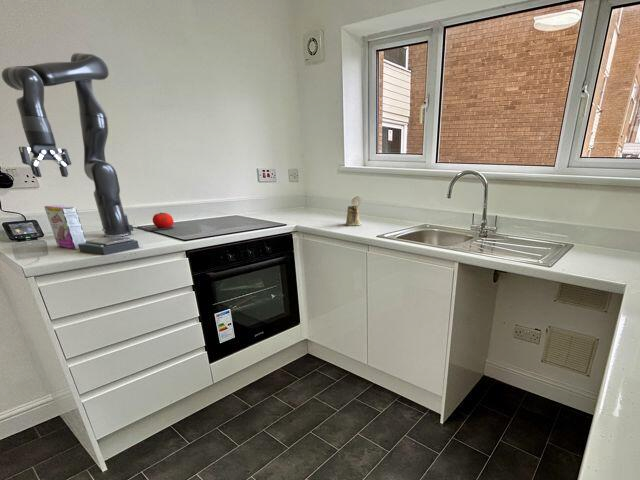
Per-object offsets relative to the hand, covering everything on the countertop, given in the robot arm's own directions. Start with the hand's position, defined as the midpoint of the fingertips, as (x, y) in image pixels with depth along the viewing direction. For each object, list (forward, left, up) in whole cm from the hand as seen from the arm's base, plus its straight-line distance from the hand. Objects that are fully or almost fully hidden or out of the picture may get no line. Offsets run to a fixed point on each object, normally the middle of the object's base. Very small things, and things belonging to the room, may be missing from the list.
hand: (52, 176), depth 135 cm
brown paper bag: (-103, +81, -28) cm, 134 cm away
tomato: (-46, -4, -28) cm, 54 cm away
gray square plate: (-3, +18, -24) cm, 30 cm away
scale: (-2, +18, -27) cm, 33 cm away
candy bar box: (+1, +1, -28) cm, 28 cm away
